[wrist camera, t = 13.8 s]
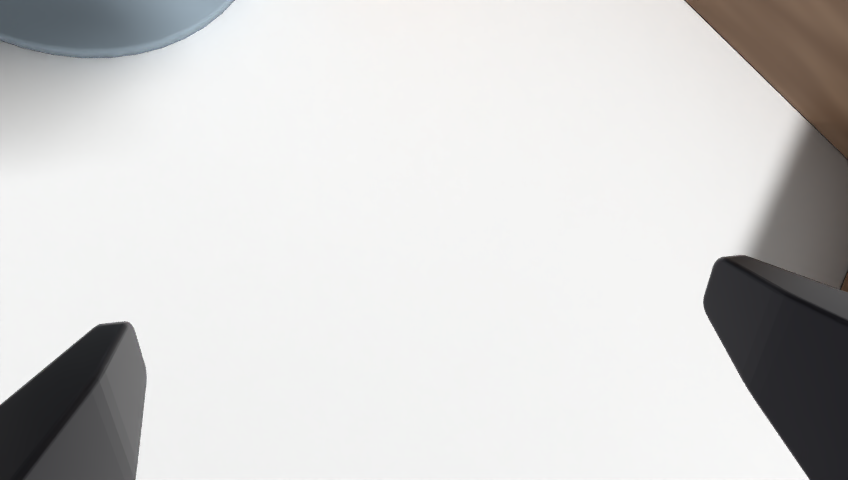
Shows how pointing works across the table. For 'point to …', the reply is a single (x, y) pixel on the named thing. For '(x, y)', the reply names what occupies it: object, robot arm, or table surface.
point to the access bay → (794, 54)
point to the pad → (103, 24)
